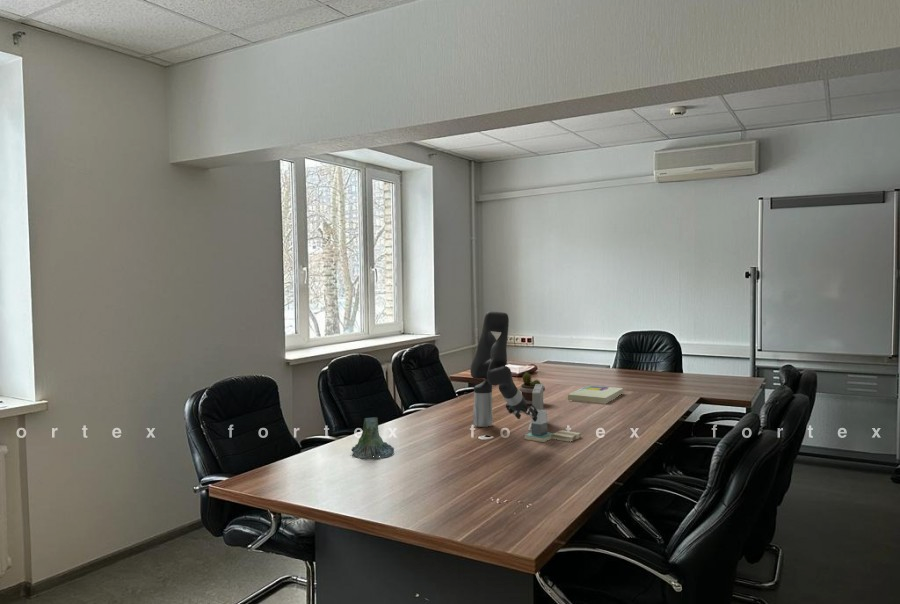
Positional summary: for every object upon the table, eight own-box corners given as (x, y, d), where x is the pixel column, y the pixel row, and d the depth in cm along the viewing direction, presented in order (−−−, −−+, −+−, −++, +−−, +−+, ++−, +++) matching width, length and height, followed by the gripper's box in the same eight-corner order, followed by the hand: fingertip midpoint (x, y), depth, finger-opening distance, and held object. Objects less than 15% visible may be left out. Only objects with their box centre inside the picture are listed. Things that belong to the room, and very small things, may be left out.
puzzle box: (567, 401, 386) (605, 405, 373) (567, 394, 386) (605, 397, 373) (588, 392, 416) (624, 395, 403) (588, 385, 416) (624, 387, 403)
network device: (545, 433, 307) (544, 392, 306) (527, 433, 309) (526, 392, 308) (547, 421, 332) (547, 383, 331) (531, 421, 334) (530, 383, 333)
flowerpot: (549, 403, 379) (548, 369, 379) (538, 407, 367) (537, 373, 366) (527, 400, 387) (526, 368, 386) (515, 405, 374) (515, 371, 374)
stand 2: (570, 441, 291) (570, 437, 291) (551, 438, 297) (551, 434, 297) (580, 437, 299) (580, 433, 299) (561, 434, 305) (561, 430, 305)
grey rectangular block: (541, 436, 294) (540, 412, 294) (531, 434, 297) (531, 411, 297) (547, 433, 299) (546, 410, 299) (537, 432, 302) (537, 409, 302)
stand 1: (543, 442, 292) (543, 437, 291) (524, 439, 298) (524, 434, 297) (554, 437, 299) (554, 433, 299) (535, 434, 306) (535, 430, 305)
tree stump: (353, 462, 267) (349, 419, 270) (351, 461, 286) (347, 420, 289) (396, 457, 270) (392, 414, 274) (391, 455, 290) (387, 416, 293)
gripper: (531, 392, 278) (544, 413, 287) (503, 389, 286) (517, 409, 296) (525, 407, 274) (538, 427, 284) (497, 403, 282) (511, 423, 292)
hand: (527, 418), depth 290 cm, fingers open, 8 cm apart
